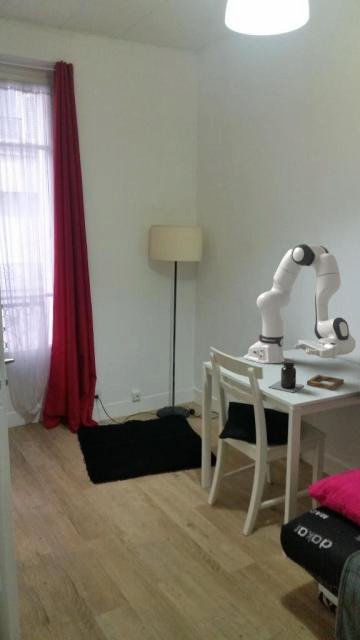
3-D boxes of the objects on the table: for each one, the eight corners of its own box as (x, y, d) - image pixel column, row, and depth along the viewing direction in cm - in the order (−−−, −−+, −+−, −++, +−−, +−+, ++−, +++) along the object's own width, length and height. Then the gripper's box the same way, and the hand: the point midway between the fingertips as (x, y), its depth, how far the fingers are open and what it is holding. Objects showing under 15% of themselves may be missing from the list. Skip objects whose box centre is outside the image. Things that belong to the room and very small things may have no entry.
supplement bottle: (297, 388, 244) (298, 363, 242) (282, 389, 243) (283, 363, 241) (293, 384, 251) (293, 359, 248) (279, 384, 250) (279, 360, 248)
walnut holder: (306, 385, 252) (307, 381, 251) (317, 378, 262) (317, 374, 262) (333, 390, 244) (333, 386, 244) (343, 383, 254) (343, 379, 254)
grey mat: (268, 387, 248) (268, 386, 247) (280, 381, 257) (280, 380, 257) (292, 393, 241) (292, 391, 240) (303, 386, 250) (303, 385, 250)
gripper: (312, 335, 263) (288, 337, 258) (339, 346, 245) (315, 348, 239) (311, 348, 264) (287, 350, 259) (338, 359, 246) (314, 362, 241)
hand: (301, 349), depth 249 cm, fingers open, 8 cm apart
